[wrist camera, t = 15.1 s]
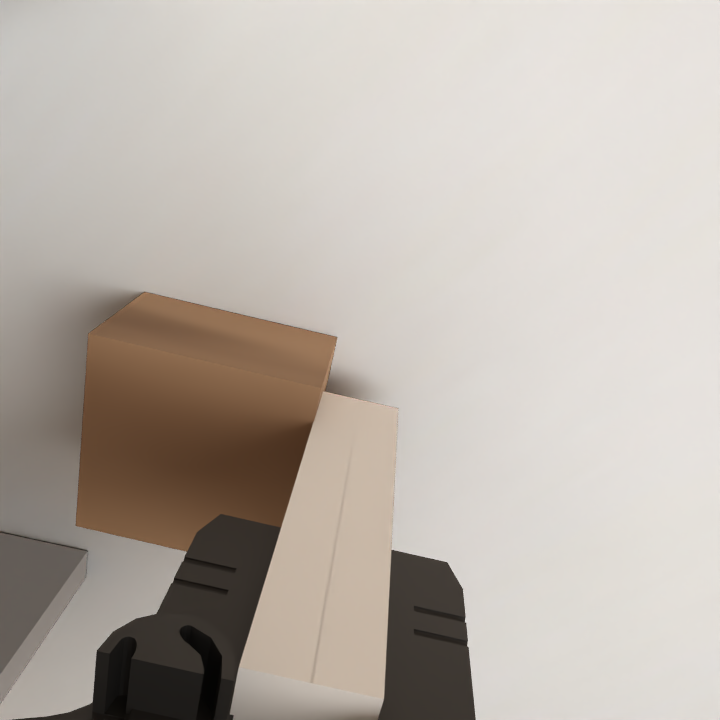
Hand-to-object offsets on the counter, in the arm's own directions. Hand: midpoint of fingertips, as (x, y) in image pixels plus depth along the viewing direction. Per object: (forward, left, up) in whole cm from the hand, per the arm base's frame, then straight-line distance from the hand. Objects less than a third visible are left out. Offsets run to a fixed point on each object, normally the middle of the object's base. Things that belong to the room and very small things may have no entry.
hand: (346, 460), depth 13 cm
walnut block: (0, +3, -1) cm, 3 cm away
